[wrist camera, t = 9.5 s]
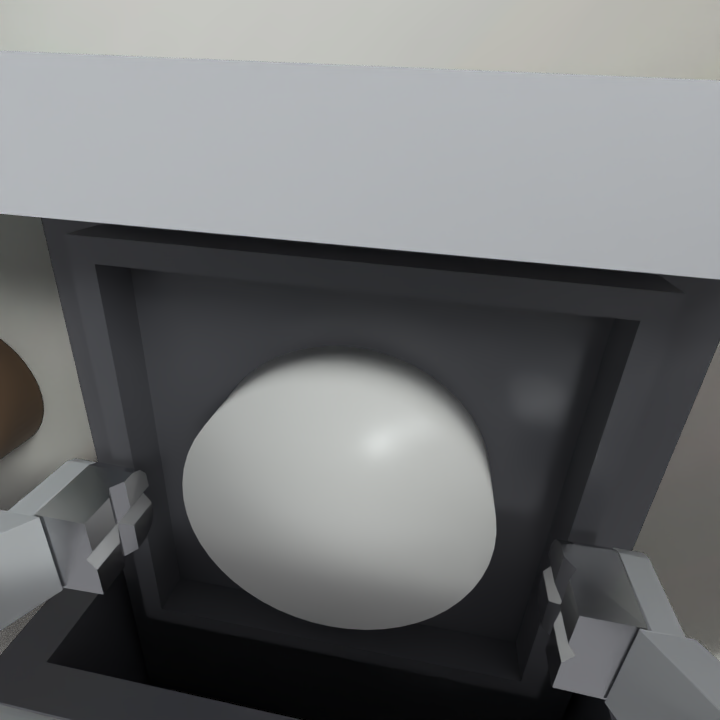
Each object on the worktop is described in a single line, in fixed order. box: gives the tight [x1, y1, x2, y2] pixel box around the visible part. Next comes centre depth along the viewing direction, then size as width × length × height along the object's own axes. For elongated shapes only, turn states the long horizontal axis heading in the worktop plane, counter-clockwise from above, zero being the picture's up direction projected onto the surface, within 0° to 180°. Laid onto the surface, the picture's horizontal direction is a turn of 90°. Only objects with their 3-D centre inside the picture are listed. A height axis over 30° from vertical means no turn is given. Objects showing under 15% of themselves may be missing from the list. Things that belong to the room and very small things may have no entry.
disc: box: [182, 346, 496, 630], centre depth 10 cm, size 6×6×2 cm
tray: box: [0, 51, 720, 720], centre depth 10 cm, size 18×15×5 cm
